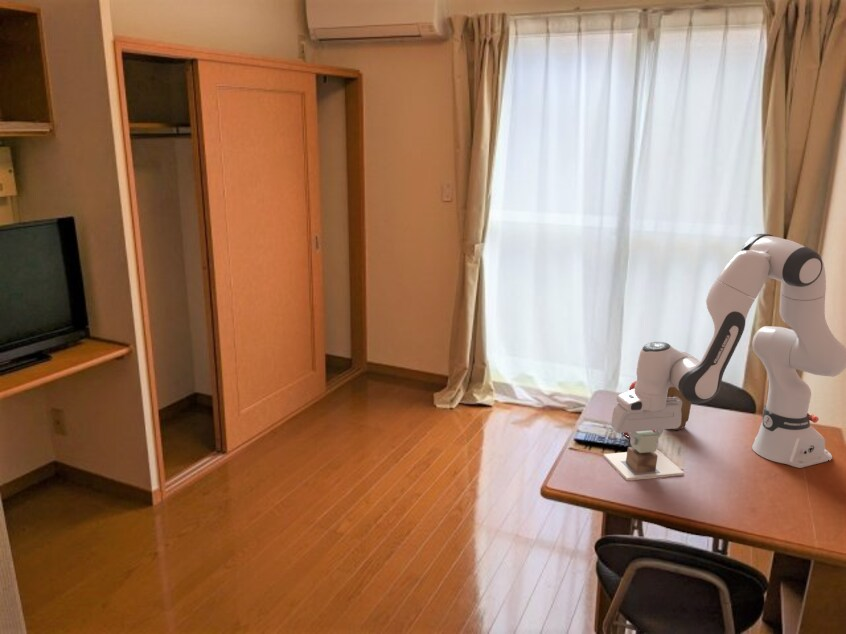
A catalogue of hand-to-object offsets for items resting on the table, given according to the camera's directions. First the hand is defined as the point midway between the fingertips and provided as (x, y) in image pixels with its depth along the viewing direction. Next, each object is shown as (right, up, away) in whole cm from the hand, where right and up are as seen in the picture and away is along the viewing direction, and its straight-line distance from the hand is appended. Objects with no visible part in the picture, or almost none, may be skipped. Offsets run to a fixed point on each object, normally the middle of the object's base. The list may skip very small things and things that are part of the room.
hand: (643, 443), depth 190 cm
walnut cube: (0, -7, +2) cm, 8 cm away
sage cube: (0, -2, +1) cm, 2 cm away
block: (+20, 0, +32) cm, 38 cm away
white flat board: (+1, -7, +5) cm, 9 cm away
